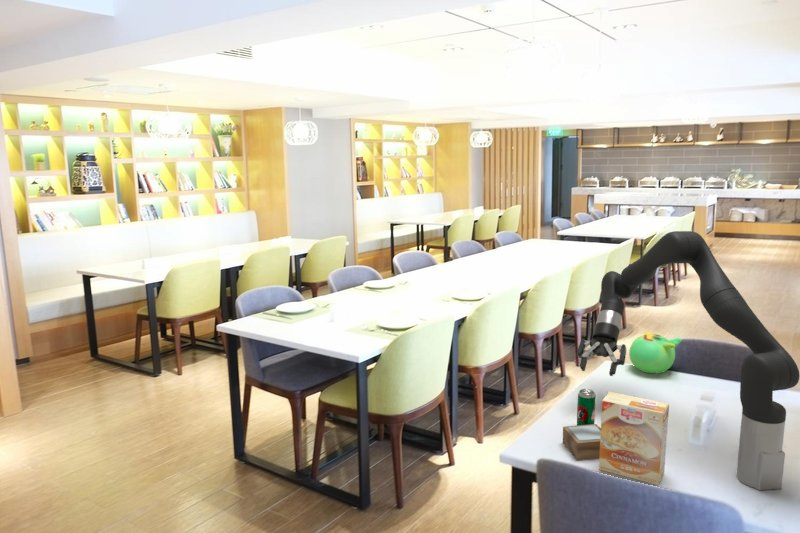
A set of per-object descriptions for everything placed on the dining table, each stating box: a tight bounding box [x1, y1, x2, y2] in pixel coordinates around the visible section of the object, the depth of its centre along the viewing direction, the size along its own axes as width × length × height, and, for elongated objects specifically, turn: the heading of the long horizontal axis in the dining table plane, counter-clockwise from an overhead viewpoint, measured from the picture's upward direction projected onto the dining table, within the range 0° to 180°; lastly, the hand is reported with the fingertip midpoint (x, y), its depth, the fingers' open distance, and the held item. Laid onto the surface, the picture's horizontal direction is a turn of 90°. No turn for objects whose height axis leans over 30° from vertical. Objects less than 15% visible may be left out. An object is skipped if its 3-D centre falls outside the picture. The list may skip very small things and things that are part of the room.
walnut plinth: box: [562, 423, 601, 461], centre depth 170 cm, size 10×10×5 cm
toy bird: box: [628, 331, 683, 374], centre depth 227 cm, size 18×17×15 cm
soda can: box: [576, 388, 597, 426], centre depth 181 cm, size 5×5×12 cm
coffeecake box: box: [598, 391, 670, 486], centre depth 156 cm, size 15×7×20 cm, turn 56°
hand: (596, 372), depth 188 cm, fingers open, 8 cm apart
